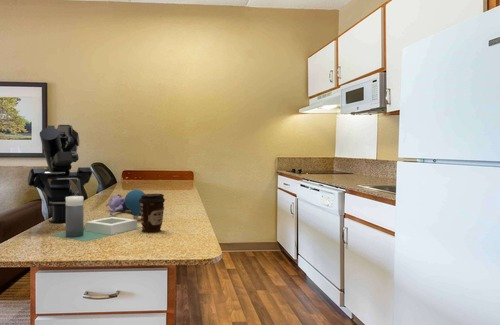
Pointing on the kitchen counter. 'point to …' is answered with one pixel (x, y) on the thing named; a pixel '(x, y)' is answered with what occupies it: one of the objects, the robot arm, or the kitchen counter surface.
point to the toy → (117, 204)
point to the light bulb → (134, 202)
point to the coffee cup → (151, 212)
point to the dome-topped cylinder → (74, 216)
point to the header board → (103, 228)
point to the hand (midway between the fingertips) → (67, 195)
